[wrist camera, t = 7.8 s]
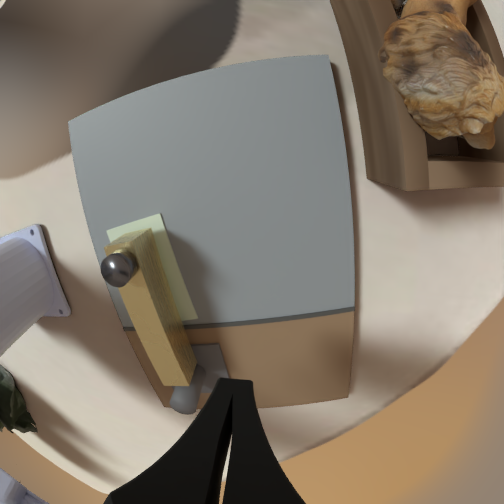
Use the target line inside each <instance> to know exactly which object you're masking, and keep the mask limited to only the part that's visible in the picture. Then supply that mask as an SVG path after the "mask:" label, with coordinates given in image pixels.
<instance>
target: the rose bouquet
mask: <svg viewBox="0 0 504 504" xmlns="http://www.w3.org/2000/svg"><path fill="white" fill-rule="evenodd" d="M31 423H32V424H34V425H35V423H34V421H33V419H32V417H31V415H30V413H29V412H28V411H27V410H26V405H25V402H24V400H23V398H22V396H21V394H20V392H19V390H18V389H17V388H16V386H15V383H14V380H13V377H12V376H11V374H10V373H9V372H8V371H7V370H6V369H5V368H3V367H2V366H1V365H0V431H1V432H2V429H3V427H4V426H5V427H6V428H7V429H8V430H9V431H10V432H11V433H13V432H12V431H11V430H12V429H17V430H19V431H20V432H22V433H26V432H29V431H31V432H38V431H37V428H35V427H34V426H33V425H32V424H31ZM35 426H36V425H35ZM19 483H20V482H19Z"/></svg>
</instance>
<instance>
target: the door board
mask: <svg viewBox="0 0 504 504" xmlns="http://www.w3.org/2000/svg"><path fill="white" fill-rule="evenodd" d="M68 124H69V133H70V140H71V147H72V155H73V161H74V167H75V172H76V177H77V182H78V187H79V192H80V196H81V201H82V205H83V209H84V213H85V217H86V221H87V225H88V228H89V232H90V236H91V239H92V242H93V246H94V249H95V252H96V256H97V259H98V262H99V265H100V268H101V263H102V261H103V259H104V258H106V257H107V256H106V253H105V250H104V247H105V246H106V245H108V244H109V243H111V242H112V241H114V240H115V239H117V238H118V237H120V236H122V235H123V234H125V233H129V232H133V231H137V230H142V229H146V228H152V232H153V236H154V239H155V242H156V246H157V249H158V253H159V256H160V259H161V262H162V266H163V269H164V272H165V275H166V278H167V281H168V284H169V287H170V290H171V293H172V296H173V299H174V302H175V304H176V307H177V310H178V313H179V316H180V318H181V321H182V324H183V326H184V329H185V332H186V334H187V337H188V340H189V342H190V345H191V347H192V350H193V352H194V355H195V357H196V359H197V364H196V367H195V370H194V373H193V376H192V379H191V382H190V385H189V386H164V385H163V383H162V381H161V380H160V378H159V376H158V374H157V372H156V370H155V368H154V366H153V365H152V363H151V361H150V359H149V357H148V355H147V353H146V351H145V349H144V347H143V344H142V342H141V340H140V338H139V336H138V334H137V332H136V329H135V327H134V325H133V323H132V321H131V318H130V316H129V314H128V311H127V309H126V306H125V304H124V302H123V299H122V297H121V294H120V292H119V289H118V288H117V287H113V286H111V285H110V284H108V283H107V282H106V281H105V282H106V285H107V288H108V290H109V293H110V296H111V298H112V301H113V303H114V306H115V308H116V311H117V313H118V316H119V318H120V320H121V323H122V325H123V329H124V331H125V332H126V334H127V336H128V339H129V341H130V343H131V345H132V347H133V349H134V351H135V353H136V355H137V358H138V360H139V362H140V364H141V366H142V367H143V369H144V371H145V373H146V375H147V377H148V379H149V381H150V383H151V385H152V386H153V388H154V390H155V392H156V394H157V395H158V397H159V399H160V400H161V402H162V404H163V406H164V407H170V408H173V409H174V410H175V411H177V412H179V413H182V414H193V413H195V412H196V409H202V408H203V406H204V405H205V403H206V401H207V400H208V398H209V396H210V394H211V392H212V391H213V388H214V386H215V384H216V382H217V379H218V378H220V377H221V378H231V379H243V380H251V381H253V389H254V397H255V402H256V406H257V408H270V407H283V406H293V405H302V404H310V403H317V402H324V401H331V400H337V399H342V398H348V395H349V386H350V376H351V364H352V351H353V333H354V311H355V306H354V303H355V265H354V235H353V217H352V203H351V191H350V181H349V171H348V163H347V155H346V147H345V140H344V133H343V126H342V120H341V114H340V109H339V103H338V98H337V93H336V88H335V83H334V78H333V73H332V69H331V65H330V60H329V56H328V55H308V56H294V57H283V58H273V59H265V60H258V61H251V62H245V63H239V64H234V65H229V66H224V67H219V68H214V69H210V70H206V71H201V72H197V73H193V74H189V75H186V76H182V77H179V78H175V79H172V80H169V81H165V82H162V83H159V84H156V85H153V86H150V87H147V88H144V89H141V90H138V91H136V92H133V93H130V94H128V95H125V96H123V97H120V98H118V99H115V100H113V101H111V102H108V103H106V104H104V105H102V106H99V107H97V108H95V109H93V110H90V111H88V112H86V113H84V114H82V115H80V116H78V117H76V118H75V119H72V120H70V121H68Z"/></svg>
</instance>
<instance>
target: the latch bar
mask: <svg viewBox="0 0 504 504" xmlns="http://www.w3.org/2000/svg"><path fill="white" fill-rule="evenodd" d="M104 250H105V253H106V256H107V257H106V258H104V259H103V261H102V263H101V273H102V276H103V278H104V279H105V281H106V282H107V283H108V284H110V285H111V286H113V287H117V288H118V289H119V292H120V294H121V297H122V299H123V302H124V304H125V306H126V309H127V311H128V314H129V316H130V318H131V321H132V323H133V325H134V327H135V329H136V332H137V334H138V336H139V338H140V340H141V342H142V344H143V347H144V349H145V351H146V353H147V355H148V357H149V359H150V361H151V363H152V365H153V366H154V368H155V370H156V372H157V374H158V376H159V378H160V380H161V381H162V383H163V385H164V386H189V385H190V382H191V379H192V376H193V373H194V370H195V367H196V364H197V359H196V357H195V355H194V352H193V350H192V347H191V345H190V342H189V340H188V337H187V334H186V332H185V329H184V326H183V324H182V321H181V318H180V316H179V313H178V310H177V307H176V304H175V302H174V299H173V296H172V293H171V290H170V287H169V284H168V281H167V278H166V275H165V272H164V269H163V266H162V262H161V259H160V256H159V253H158V249H157V246H156V242H155V239H154V236H153V232H152V228H146V229H142V230H137V231H133V232H129V233H125V234H123V235H122V236H120V237H118V238H117V239H115V240H114V241H112V242H111V243H109V244H108V245H106V246H105V247H104Z"/></svg>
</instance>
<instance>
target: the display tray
mask: <svg viewBox="0 0 504 504" xmlns="http://www.w3.org/2000/svg"><path fill="white" fill-rule="evenodd" d="M330 3H331V5H332V8H333V11H334V15H335V18H336V21H337V24H338V27H339V31H340V34H341V38H342V41H343V45H344V49H345V53H346V56H347V60H348V65H349V69H350V73H351V78H352V82H353V87H354V92H355V97H356V102H357V108H358V114H359V120H360V126H361V133H362V140H363V147H364V156H365V165H366V174H367V179H370V180H374V181H377V182H380V183H383V184H386V185H389V186H392V187H395V188H398V189H401V190H404V191H418V190H433V189H449V188H470V187H503V186H504V113H503V114H502V116H501V117H498V119H497V121H496V123H495V124H494V135H495V145H494V146H493V147H492V148H491V149H489V150H488V149H485V148H483V149H479V148H474V147H472V146H471V145H470V144H469V143H468V142H467V140H466V139H464V138H461V137H459V136H458V145H459V156H443V155H427V146H426V137H425V130H424V129H422V128H421V126H420V125H419V124H418V123H417V122H416V121H415V120H414V119H413V116H412V115H411V114H410V113H409V112H408V108H407V106H406V105H405V104H404V99H403V98H402V96H401V95H400V94H399V92H398V91H397V90H396V89H395V88H394V87H393V85H392V83H390V82H389V81H388V80H387V79H386V78H385V77H384V76H383V68H384V67H386V66H387V62H388V61H387V60H386V63H382V62H380V60H379V58H378V52H379V50H380V48H381V47H382V46H383V44H384V42H385V41H384V34H385V32H386V31H387V29H388V27H389V26H390V25H391V24H392V23H393V22H395V21H396V20H398V18H397V15H396V13H395V10H394V8H393V5H392V3H391V0H330ZM466 29H467V30H468V31H469V33H470V34H471V36H472V38H473V39H474V40H476V41H477V42H478V44H479V45H480V47H481V49H482V51H483V52H486V53H487V54H488V55H489V56H490V58H491V61H492V62H493V63H494V64H495V66H496V68H497V72H498V73H499V75H501V76H503V77H504V57H503V54H502V51H501V48H500V45H499V42H498V39H497V36H496V34H495V31H494V28H493V26H492V23H491V21H490V19H489V16H488V14H487V12H486V10H485V7H484V5H483V3H482V1H481V0H477V1H476V2H475V3H474V4H472V5H471V6H470V7H468V9H467V21H466ZM380 56H383V57H386V53H385V51H384V52H383V53H382V54H381V55H380Z"/></svg>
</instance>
